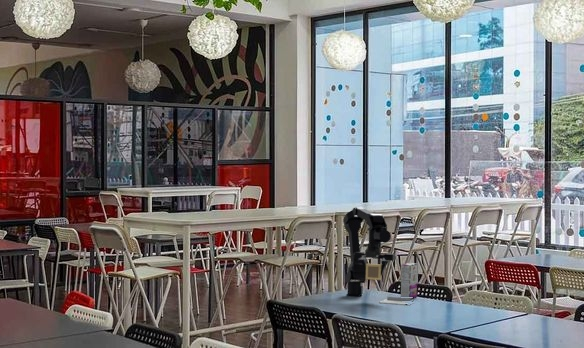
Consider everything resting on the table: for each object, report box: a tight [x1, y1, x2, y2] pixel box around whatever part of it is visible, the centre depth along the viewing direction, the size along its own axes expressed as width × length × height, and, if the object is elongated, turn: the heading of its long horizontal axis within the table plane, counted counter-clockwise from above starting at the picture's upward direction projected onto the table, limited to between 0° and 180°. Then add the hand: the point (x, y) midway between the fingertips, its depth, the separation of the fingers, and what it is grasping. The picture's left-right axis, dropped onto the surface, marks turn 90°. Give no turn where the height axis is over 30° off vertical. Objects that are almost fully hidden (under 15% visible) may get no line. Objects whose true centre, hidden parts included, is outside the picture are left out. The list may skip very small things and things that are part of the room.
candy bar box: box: [400, 262, 418, 298], centre depth 418 cm, size 11×5×16 cm, turn 154°
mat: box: [379, 296, 412, 306], centre depth 399 cm, size 14×14×2 cm
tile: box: [365, 263, 383, 281], centre depth 401 cm, size 7×2×7 cm, turn 70°
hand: (373, 274), depth 401 cm, fingers closed on tile, 7 cm apart
